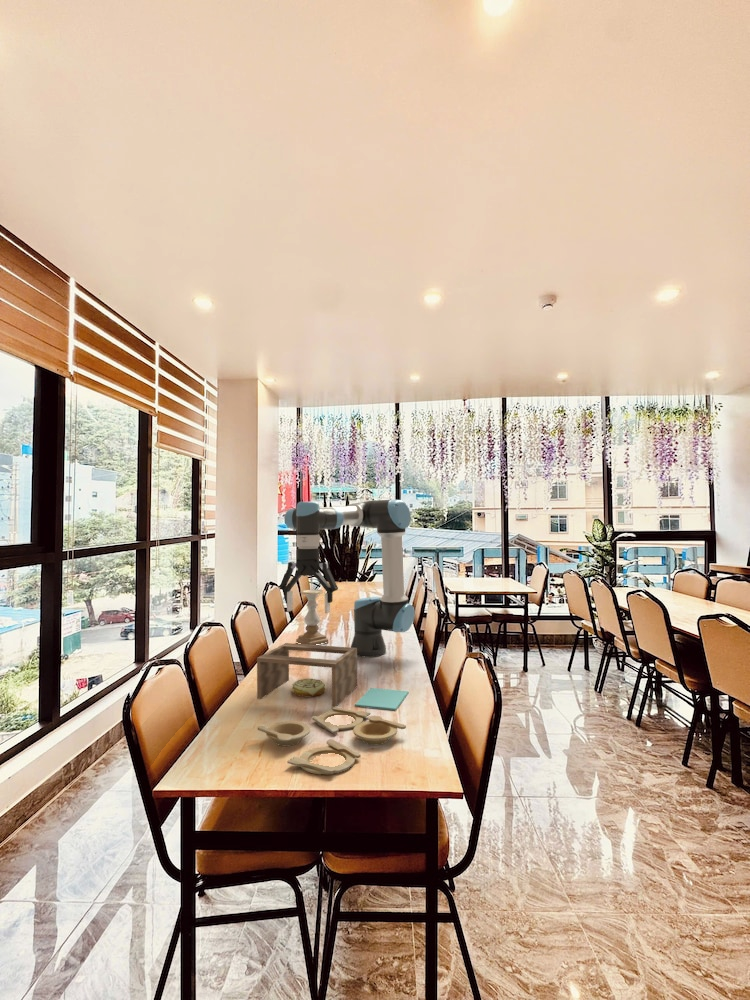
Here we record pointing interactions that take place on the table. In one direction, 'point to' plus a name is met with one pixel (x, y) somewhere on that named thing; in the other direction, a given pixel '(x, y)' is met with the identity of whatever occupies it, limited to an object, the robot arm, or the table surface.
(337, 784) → the table surface
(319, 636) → the candle holder
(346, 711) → the tableware set
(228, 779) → the table surface
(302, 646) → the box
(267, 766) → the table surface
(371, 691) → the mat
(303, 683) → the decorated donut
